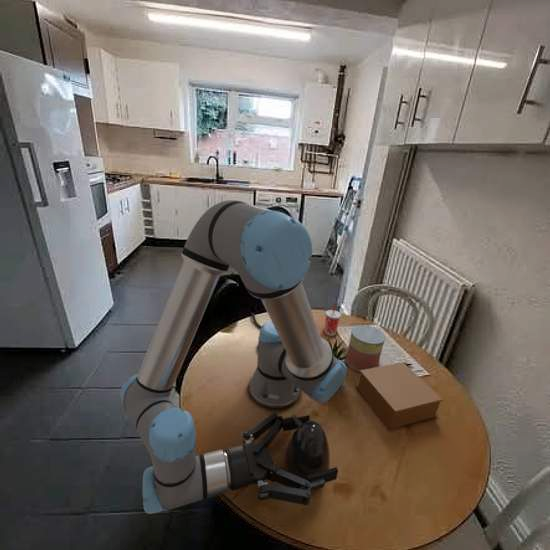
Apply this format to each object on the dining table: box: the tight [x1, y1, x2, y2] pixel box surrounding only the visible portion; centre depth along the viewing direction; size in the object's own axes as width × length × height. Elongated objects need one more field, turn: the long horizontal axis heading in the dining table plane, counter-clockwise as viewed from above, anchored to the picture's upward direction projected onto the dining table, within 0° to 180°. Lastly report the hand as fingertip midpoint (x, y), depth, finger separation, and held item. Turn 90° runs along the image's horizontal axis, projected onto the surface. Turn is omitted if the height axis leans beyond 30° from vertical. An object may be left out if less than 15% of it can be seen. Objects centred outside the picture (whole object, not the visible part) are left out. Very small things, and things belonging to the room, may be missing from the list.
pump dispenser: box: [283, 414, 331, 480], centre depth 68 cm, size 10×10×15 cm
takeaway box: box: [357, 361, 444, 430], centre depth 93 cm, size 17×17×7 cm
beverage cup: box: [324, 301, 342, 337], centre depth 125 cm, size 6×6×14 cm
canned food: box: [345, 324, 386, 373], centre depth 109 cm, size 11×11×12 cm
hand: (321, 444), depth 69 cm, fingers open, 13 cm apart
